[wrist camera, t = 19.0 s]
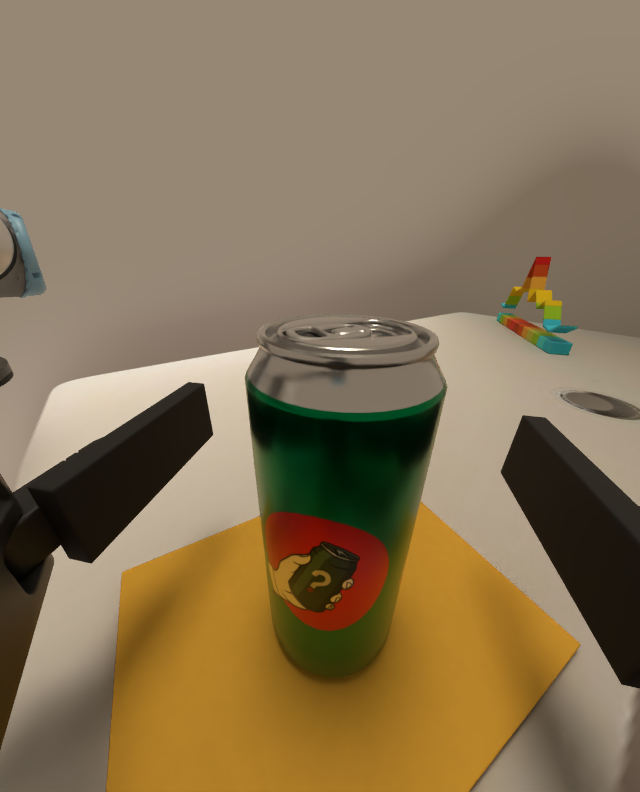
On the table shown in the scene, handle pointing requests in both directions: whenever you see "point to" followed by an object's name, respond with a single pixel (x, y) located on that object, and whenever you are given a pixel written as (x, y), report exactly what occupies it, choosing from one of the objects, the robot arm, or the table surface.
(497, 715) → the orange flat board
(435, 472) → the table surface
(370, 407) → the soda can
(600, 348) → the table surface
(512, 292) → the chart
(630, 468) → the table surface
